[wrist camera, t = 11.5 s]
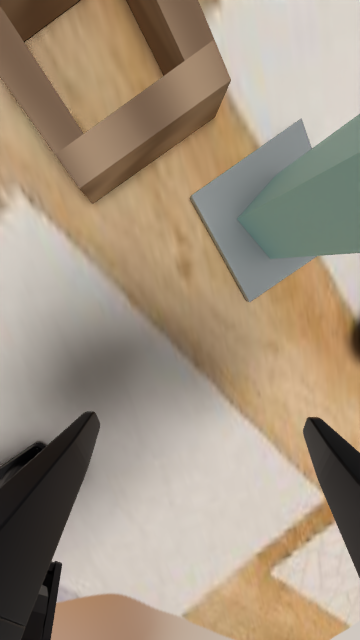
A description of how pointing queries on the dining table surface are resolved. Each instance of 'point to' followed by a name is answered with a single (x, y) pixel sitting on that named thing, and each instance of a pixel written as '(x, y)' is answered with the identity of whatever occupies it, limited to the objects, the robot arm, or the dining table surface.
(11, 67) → the walnut pocket
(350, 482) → the robot arm
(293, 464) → the dining table surface
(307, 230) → the teal block
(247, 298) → the slate coaster
